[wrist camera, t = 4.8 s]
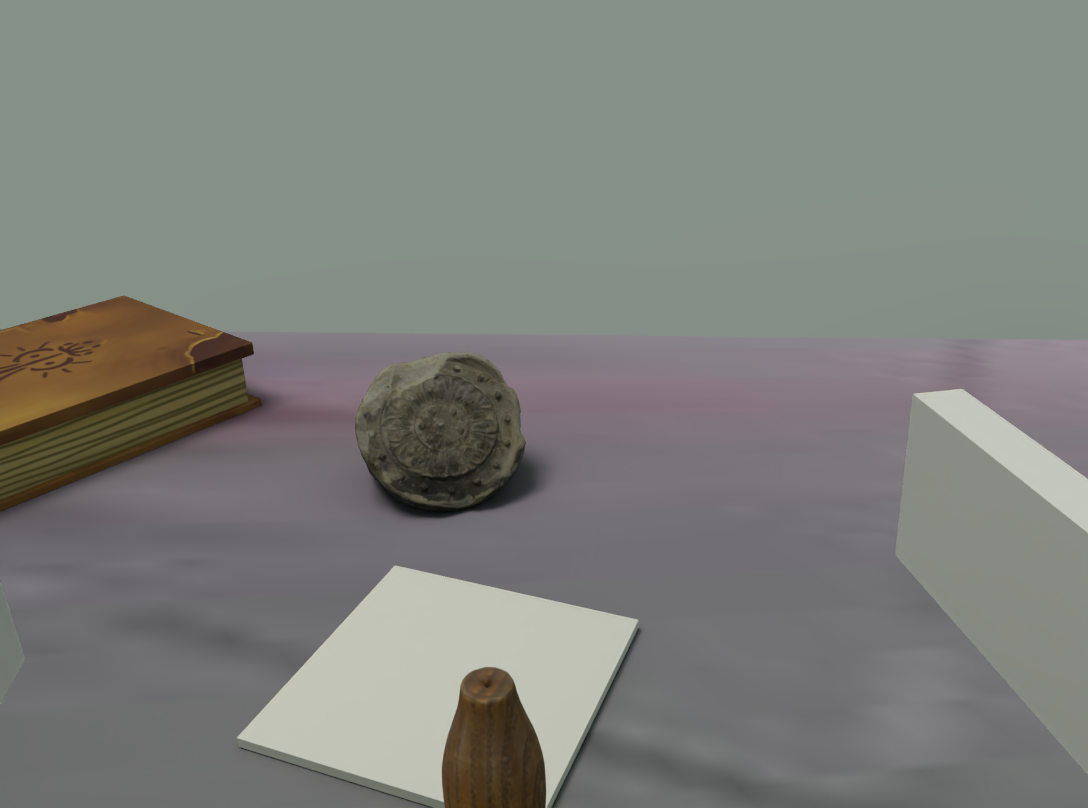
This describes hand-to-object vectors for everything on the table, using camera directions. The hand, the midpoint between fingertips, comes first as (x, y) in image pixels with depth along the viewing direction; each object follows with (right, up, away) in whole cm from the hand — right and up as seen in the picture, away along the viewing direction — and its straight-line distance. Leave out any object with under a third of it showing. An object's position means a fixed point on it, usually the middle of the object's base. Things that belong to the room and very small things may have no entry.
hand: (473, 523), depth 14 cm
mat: (-3, -11, +33) cm, 35 cm away
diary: (-35, 0, +59) cm, 69 cm away
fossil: (-6, -3, +51) cm, 51 cm away
